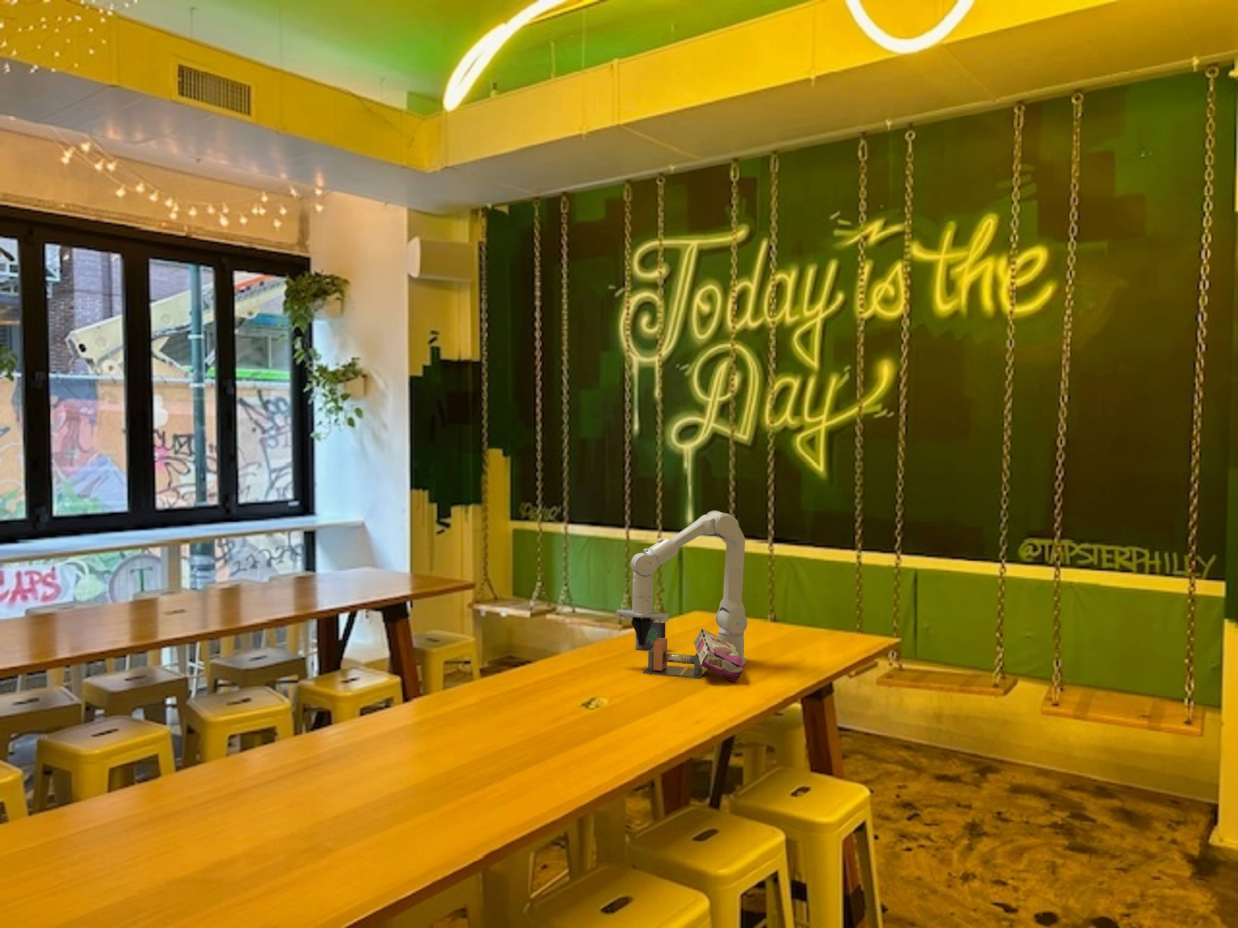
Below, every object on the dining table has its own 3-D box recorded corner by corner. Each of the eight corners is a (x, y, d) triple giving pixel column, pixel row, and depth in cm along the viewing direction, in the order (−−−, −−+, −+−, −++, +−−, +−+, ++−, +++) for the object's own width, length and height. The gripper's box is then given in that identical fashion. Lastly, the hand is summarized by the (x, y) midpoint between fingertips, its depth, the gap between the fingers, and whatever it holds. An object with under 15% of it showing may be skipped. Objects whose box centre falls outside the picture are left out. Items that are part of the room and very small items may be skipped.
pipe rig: (651, 665, 264) (651, 645, 264) (706, 670, 260) (707, 650, 259) (642, 673, 256) (643, 652, 255) (700, 678, 251) (700, 658, 251)
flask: (634, 649, 282) (635, 614, 282) (636, 647, 285) (637, 613, 285) (664, 652, 280) (665, 616, 280) (666, 649, 283) (667, 615, 282)
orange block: (658, 664, 262) (659, 637, 262) (666, 665, 261) (667, 638, 261) (653, 669, 256) (653, 642, 256) (661, 670, 256) (662, 643, 255)
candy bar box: (709, 649, 245) (701, 627, 261) (700, 665, 246) (692, 642, 262) (746, 667, 247) (735, 644, 263) (736, 683, 248) (726, 658, 264)
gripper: (613, 597, 258) (613, 645, 259) (664, 600, 254) (663, 649, 254) (621, 592, 265) (620, 640, 265) (670, 596, 260) (669, 644, 261)
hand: (641, 644), depth 260 cm, fingers closed
